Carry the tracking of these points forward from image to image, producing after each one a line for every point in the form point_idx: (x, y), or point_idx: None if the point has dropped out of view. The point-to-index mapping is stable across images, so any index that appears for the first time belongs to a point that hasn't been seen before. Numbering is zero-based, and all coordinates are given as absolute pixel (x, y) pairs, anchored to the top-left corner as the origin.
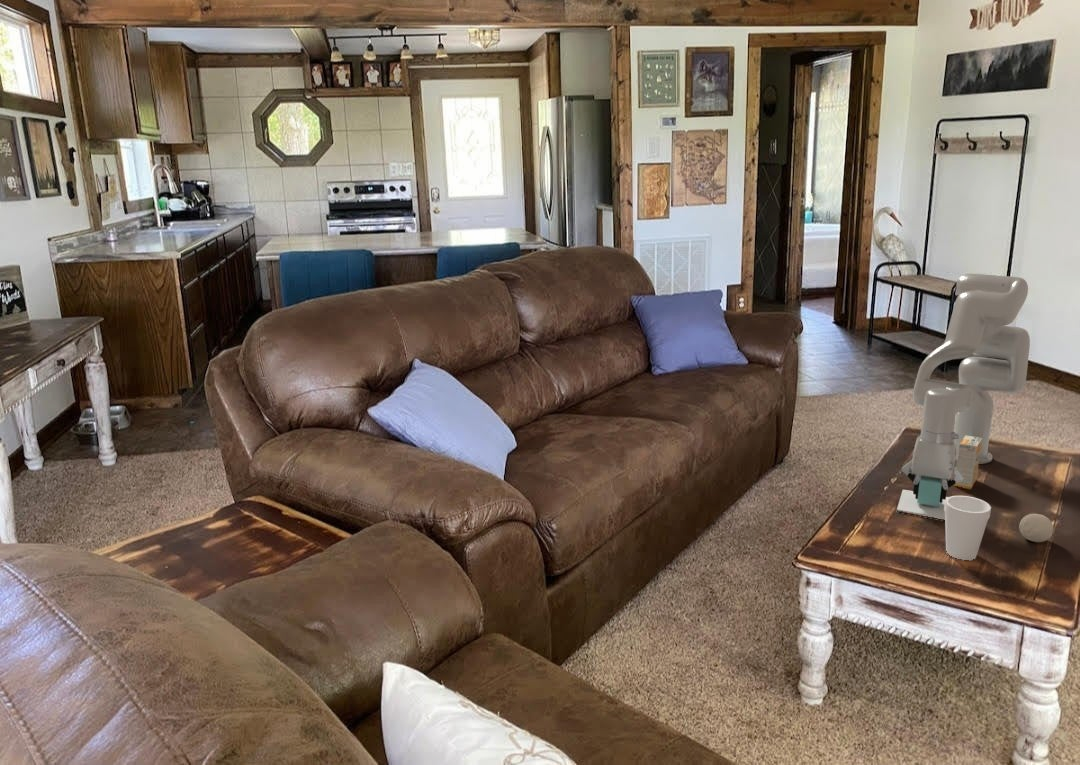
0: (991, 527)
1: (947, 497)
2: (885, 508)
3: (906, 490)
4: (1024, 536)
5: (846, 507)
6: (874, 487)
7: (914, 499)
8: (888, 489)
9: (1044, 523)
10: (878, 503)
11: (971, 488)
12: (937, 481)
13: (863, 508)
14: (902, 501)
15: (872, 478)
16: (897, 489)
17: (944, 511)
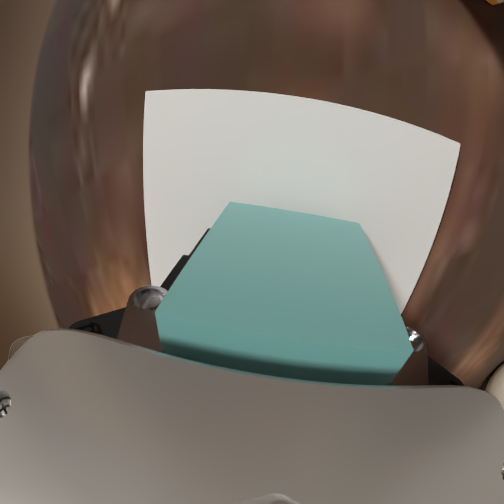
0: (462, 348)
1: (408, 132)
2: (125, 300)
3: (164, 97)
4: (485, 389)
5: (53, 308)
6: (54, 107)
7: (212, 217)
8: (96, 94)
9: None
10: (95, 265)
11: (494, 1)
12: None
13: (80, 309)
14: (161, 258)
15: (51, 22)
16: (131, 69)
17: None
